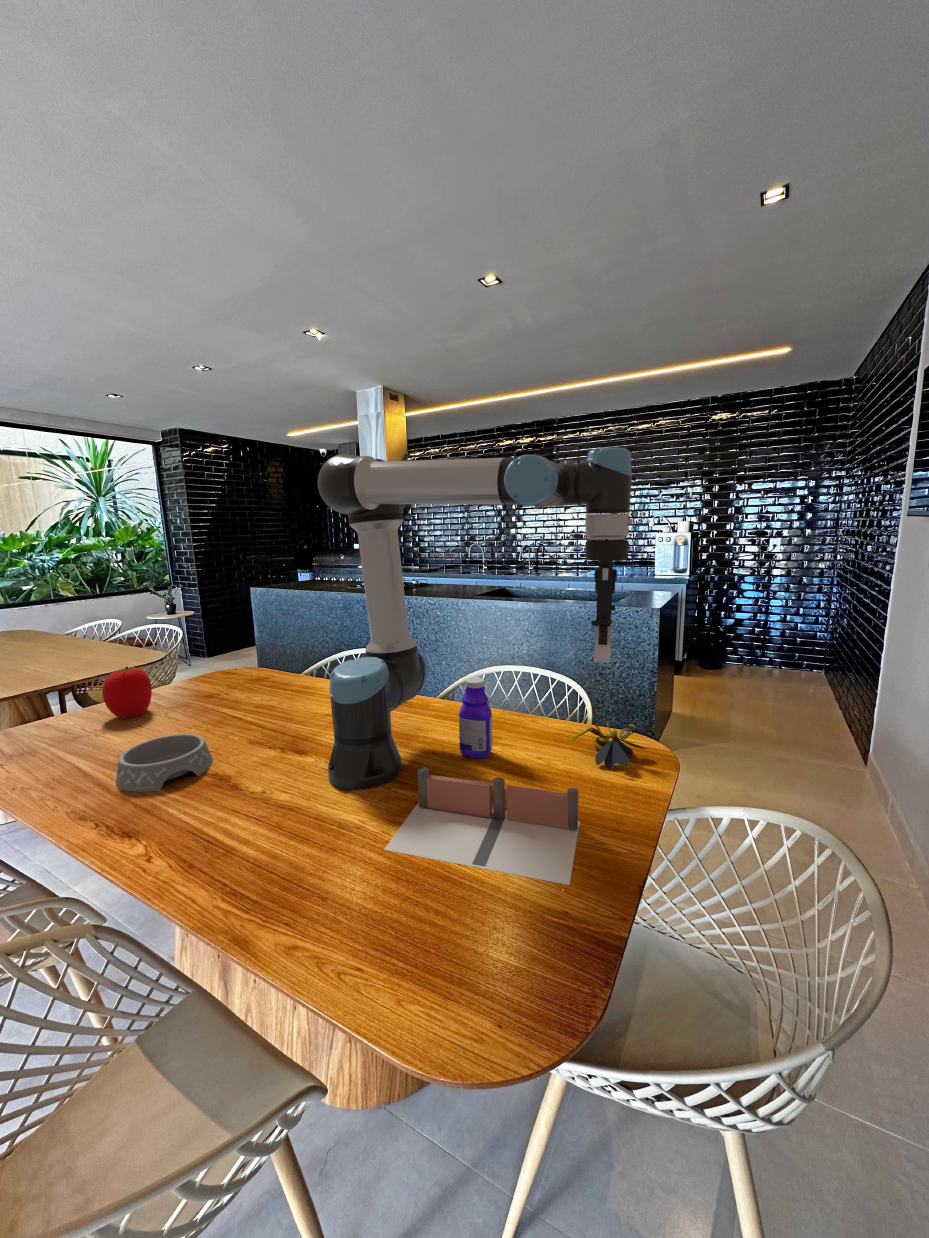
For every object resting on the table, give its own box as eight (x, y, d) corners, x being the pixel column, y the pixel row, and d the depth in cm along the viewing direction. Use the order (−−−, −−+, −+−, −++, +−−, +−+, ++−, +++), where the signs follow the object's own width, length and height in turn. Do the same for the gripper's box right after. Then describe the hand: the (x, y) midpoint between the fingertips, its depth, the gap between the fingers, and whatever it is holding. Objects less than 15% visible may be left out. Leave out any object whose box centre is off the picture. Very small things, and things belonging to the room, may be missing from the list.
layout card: (383, 851, 80) (383, 849, 80) (422, 799, 95) (422, 796, 95) (569, 887, 71) (569, 884, 71) (579, 823, 86) (579, 820, 86)
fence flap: (506, 819, 87) (506, 784, 85) (508, 814, 88) (508, 779, 87) (577, 830, 83) (578, 794, 82) (578, 824, 85) (579, 788, 84)
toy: (584, 708, 118) (647, 718, 108) (586, 742, 120) (649, 755, 109) (558, 724, 110) (623, 736, 100) (560, 760, 111) (625, 776, 101)
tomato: (137, 723, 136) (129, 672, 134) (95, 724, 137) (87, 673, 134) (165, 706, 149) (158, 660, 146) (127, 707, 149) (119, 660, 146)
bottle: (495, 750, 114) (494, 676, 111) (488, 762, 109) (486, 684, 106) (465, 746, 117) (462, 674, 113) (456, 757, 112) (454, 682, 108)
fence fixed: (417, 807, 92) (415, 771, 90) (421, 801, 94) (420, 766, 92) (503, 821, 87) (503, 783, 85) (506, 814, 89) (505, 778, 87)
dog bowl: (106, 774, 109) (102, 751, 108) (196, 745, 122) (193, 724, 121) (129, 802, 97) (124, 776, 96) (225, 767, 111) (223, 744, 110)
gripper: (630, 541, 79) (625, 672, 83) (627, 535, 102) (622, 637, 106) (581, 541, 81) (578, 669, 85) (588, 535, 104) (586, 636, 108)
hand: (603, 652), depth 96 cm, fingers open, 13 cm apart
